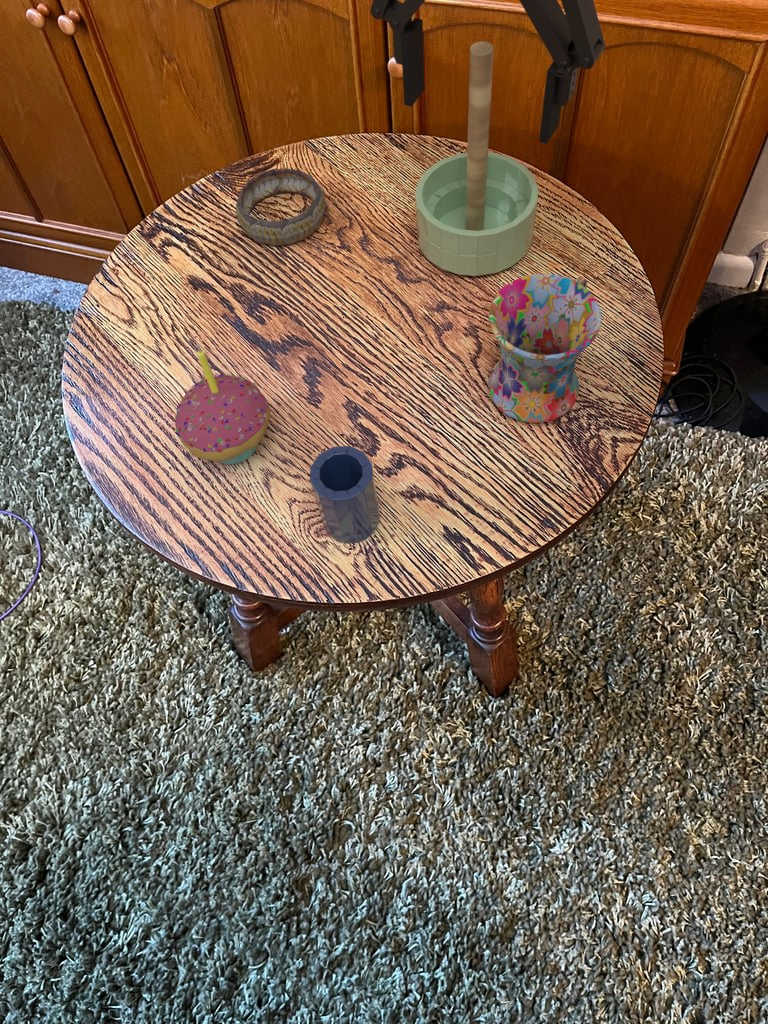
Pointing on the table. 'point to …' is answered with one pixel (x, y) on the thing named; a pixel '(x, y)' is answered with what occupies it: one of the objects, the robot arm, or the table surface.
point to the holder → (345, 493)
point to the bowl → (503, 223)
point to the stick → (478, 133)
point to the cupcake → (222, 417)
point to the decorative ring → (273, 185)
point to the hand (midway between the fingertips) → (479, 115)
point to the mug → (540, 344)
